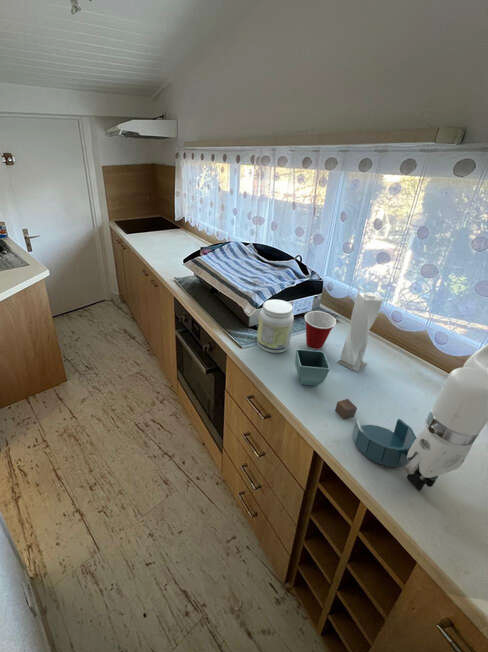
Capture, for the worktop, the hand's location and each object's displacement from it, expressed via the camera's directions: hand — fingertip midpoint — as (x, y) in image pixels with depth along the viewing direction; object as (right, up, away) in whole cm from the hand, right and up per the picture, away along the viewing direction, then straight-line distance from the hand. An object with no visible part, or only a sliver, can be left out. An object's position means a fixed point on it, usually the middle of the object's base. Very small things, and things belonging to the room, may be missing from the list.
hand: (418, 482), depth 68 cm
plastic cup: (-3, +24, +48) cm, 54 cm away
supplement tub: (-19, +24, +49) cm, 58 cm away
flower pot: (-13, +15, +31) cm, 37 cm away
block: (-7, +12, +17) cm, 22 cm away
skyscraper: (+6, +19, +39) cm, 44 cm away
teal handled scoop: (-2, +3, +6) cm, 7 cm away
